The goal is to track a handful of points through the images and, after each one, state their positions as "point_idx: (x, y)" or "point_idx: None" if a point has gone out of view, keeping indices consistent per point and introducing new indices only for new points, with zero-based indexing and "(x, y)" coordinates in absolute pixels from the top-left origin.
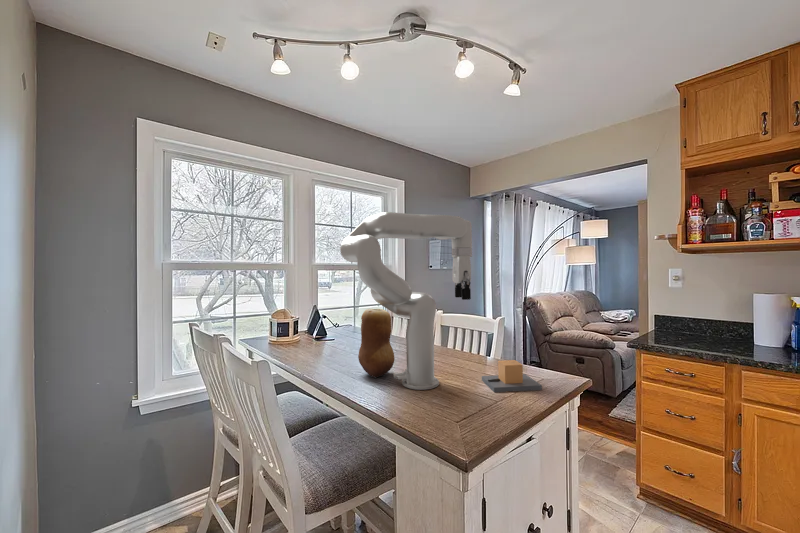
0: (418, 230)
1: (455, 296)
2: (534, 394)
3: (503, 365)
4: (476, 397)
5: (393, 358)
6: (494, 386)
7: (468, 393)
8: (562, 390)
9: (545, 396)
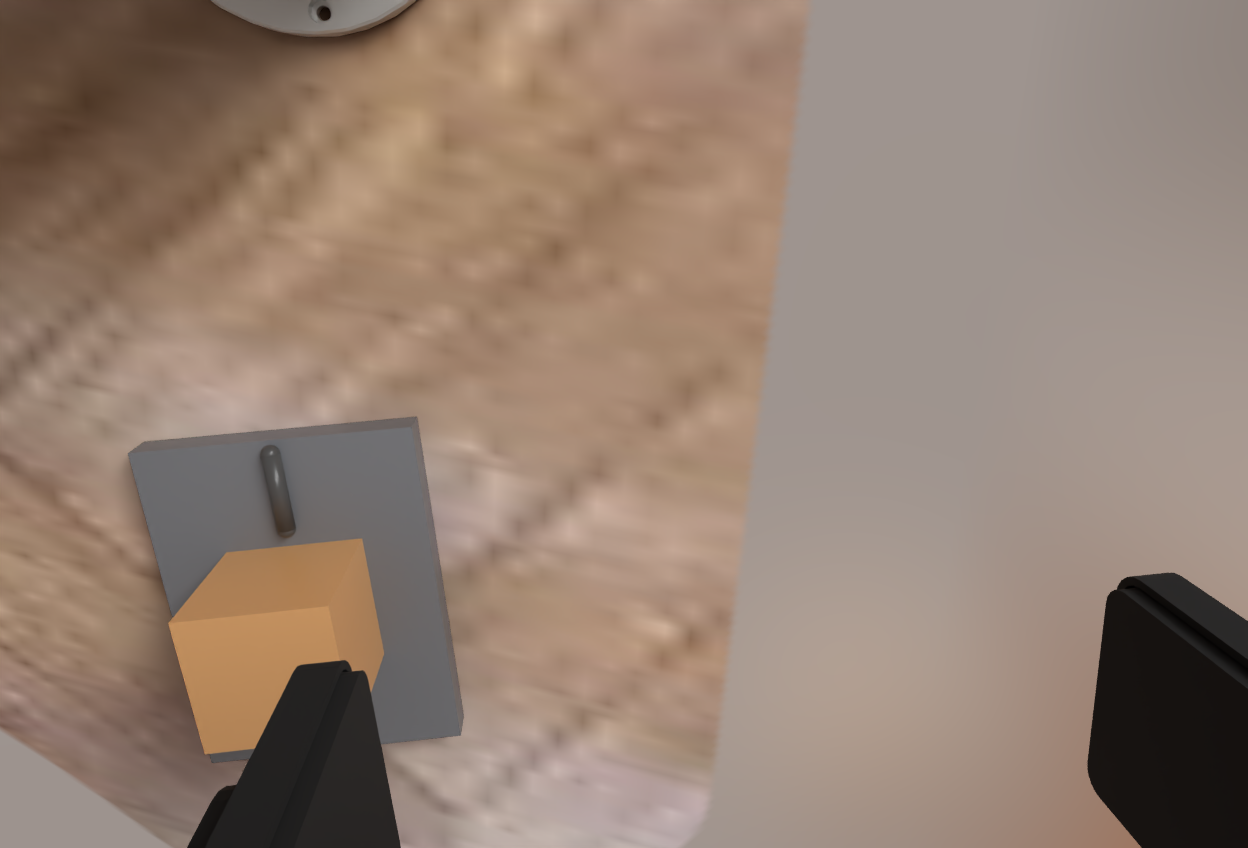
0: None
1: (1138, 583)
2: (132, 678)
3: (206, 614)
4: (18, 295)
5: None
6: (153, 463)
7: (98, 252)
8: None
9: (102, 726)
